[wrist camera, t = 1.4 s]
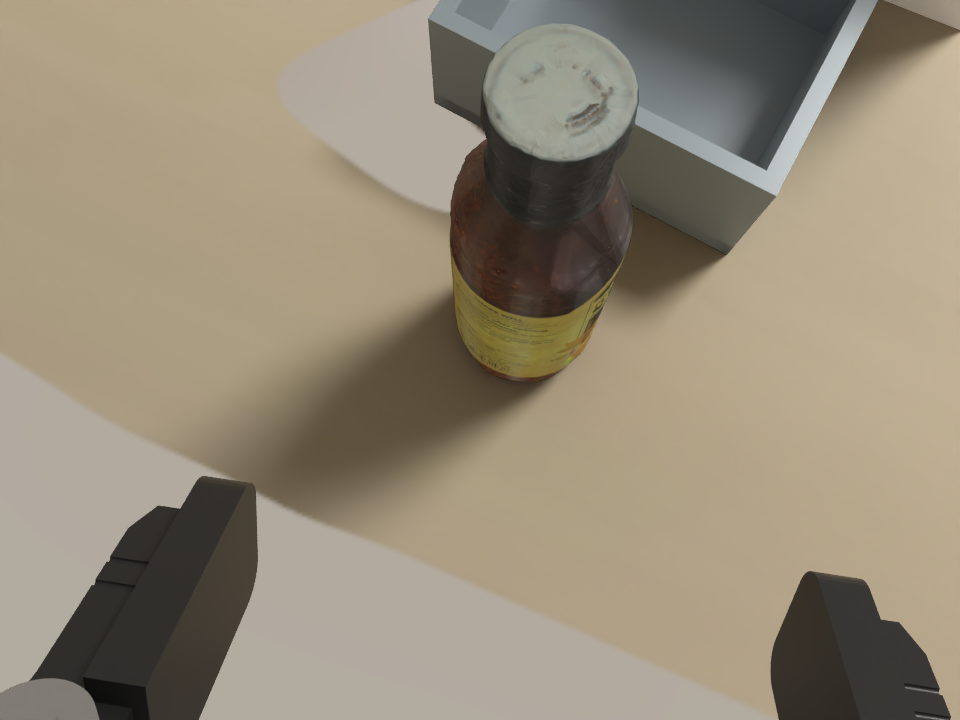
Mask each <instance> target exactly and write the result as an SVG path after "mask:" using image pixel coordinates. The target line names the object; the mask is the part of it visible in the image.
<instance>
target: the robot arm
mask: <svg viewBox="0 0 960 720" xmlns="http://www.w3.org/2000/svg"><path fill="white" fill-rule="evenodd" d="M257 553H258V549H257V516H256V491H255V487H254V485H253V484H252V483H246V482H240V481H233V480H227V479H220V478H213V477H207V476H202V477H200V478H199V479H198V480H197V482H196V483H195V485H194V486H193V488H192V490H191V492H190V493H189V495H188V497H187V498H186V500H185V502H184V504H183V505H182V507H181V509H177V508H171V507H164V506H157V507H156V508H154V509H153V510H152V511H150V512H149V513H148V514H146V515H145V516H144V517H142V518H141V519H140V520H138V521H137V522H136V523H135V524H133V525H132V526H130V527H129V528H128V530H127V531H126V532H125V534H124V536H123V537H122V539H121V540H120V542H119V544H118V545H117V547H116V548H115V550H114V551H113V553H112V554H111V556H110V561H109V562H106V564H105V565H104V567H103V569H102V570H101V572H100V573H99V575H98V576H97V578H96V582H95V585H92V586H91V587H90V589H89V590H88V592H87V594H86V595H85V597H84V598H83V600H82V601H81V603H80V605H79V606H78V608H77V609H76V611H75V612H74V614H73V616H72V617H71V619H70V620H69V622H68V623H67V625H66V626H65V628H64V630H63V631H62V633H61V634H60V636H59V638H58V639H57V641H56V642H55V644H54V645H53V647H52V648H51V650H50V651H49V653H48V655H47V656H46V658H45V659H44V661H43V663H42V664H41V666H40V667H39V669H38V670H37V672H36V673H35V674H34V676H33V677H32V678H31V679H30V681H28V682H25V683H21V684H19V685H16V686H13V687H11V688H9V689H7V690H5V691H4V692H2V693H0V720H199V717H200V715H201V713H202V710H203V708H204V706H205V703H206V701H207V699H208V696H209V694H210V691H211V689H212V687H213V685H214V682H215V680H216V678H217V675H218V673H219V671H220V668H221V666H222V664H223V661H224V659H225V656H226V654H227V652H228V649H229V647H230V645H231V642H232V640H233V638H234V636H235V633H236V631H237V628H238V626H239V624H240V621H241V619H242V617H243V614H244V612H245V610H246V607H247V605H248V603H249V600H250V597H251V594H252V591H253V587H254V583H255V578H256V572H257V562H258V554H257ZM771 684H772V689H773V694H774V699H775V704H776V708H777V713H778V718H779V720H950V718H951V716H950V713H949V711H948V708H947V706H946V703H945V701H944V698H943V696H942V695H939V689H940V688H939V686H938V683H937V681H936V678H935V676H934V673H933V671H932V668H931V666H930V663H929V661H928V658H927V656H926V654H925V653H924V652H923V650H922V649H921V648H920V647H919V646H918V645H917V643H916V642H915V641H914V640H913V639H912V637H911V636H910V635H909V634H908V633H907V631H906V630H905V629H904V628H903V627H902V625H901V624H900V623H899V622H893V621H886V620H881V619H880V616H879V613H878V611H877V608H876V605H875V602H874V600H873V597H872V594H871V591H870V589H869V587H868V585H867V583H866V582H865V581H864V580H862V579H857V578H851V577H844V576H838V575H831V574H825V573H818V572H812V571H809V572H807V573H806V574H805V575H804V576H803V577H802V579H801V581H800V584H799V586H798V588H797V591H796V593H795V595H794V598H793V600H792V602H791V605H790V607H789V609H788V612H787V614H786V617H785V619H784V621H783V624H782V626H781V628H780V631H779V633H778V635H777V638H776V640H775V643H774V647H773V651H772V657H771Z"/></svg>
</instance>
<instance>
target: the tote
mask: <svg viewBox="0 0 960 720" xmlns="http://www.w3.org/2000/svg"><path fill="white" fill-rule="evenodd" d="M877 2H878V0H440V1H439V3H438V4H437V6H436V7H435V9H434V10H433V12H432V14H431V15H430V17H429V18H428V22H429V35H430V49H431V62H432V75H433V87H434V100H435V103H436V104H438V105H440V106H442V107H444V108H446V109H448V110H449V111H451V112H453V113H455V114H457V115H459V116H461V117H463V118H465V119H467V120H469V121H471V122H473V123H474V124H476V125H478V126H480V127H482V128H483V126H482V124H481V121H480V112H481V111H480V106H481V91H482V83H483V79H484V75H485V72H486V69H487V67H488V65H489V63H490V62H491V60H492V58H493V56H494V53H495V52H496V51H498V50H499V49H500V48H501V47H502V46H503V45H504V44H505V43H506V42H507V41H508V40H510V39H511V38H512V37H514V36H516V35H517V34H519V33H521V32H523V31H525V30H527V29H529V28H533V27H537V26H541V25H546V24H552V23H556V24H573V25H576V26H579V27H582V28H586V29H588V30H591V31H593V32H595V33H597V34H599V35H601V36H603V37H605V38H607V39H609V40H610V41H611V42H612V43H613V44H614V45H615V46H616V47H617V48H618V49H619V50H620V51H621V52H622V53H623V55H624V56H625V57H626V58H627V59H628V60H629V62H630V64H631V66H632V68H633V70H634V72H635V74H636V78H637V82H638V86H639V104H638V108H637V115H636V120H635V125H634V130H633V134H632V138H631V140H630V142H629V144H628V146H627V148H626V149H625V151H624V153H623V154H622V156H620V157H619V158H618V159H617V161H616V163H615V167H616V169H617V171H618V173H619V175H620V177H621V179H622V181H623V183H624V185H625V187H626V189H627V191H628V194H629V197H630V201H631V205H632V206H634V207H636V208H638V209H640V210H642V211H644V212H646V213H648V214H649V215H651V216H653V217H655V218H657V219H659V220H661V221H663V222H665V223H667V224H669V225H671V226H673V227H674V228H676V229H678V230H680V231H682V232H684V233H686V234H688V235H690V236H692V237H694V238H696V239H698V240H699V241H701V242H703V243H705V244H707V245H709V246H711V247H713V248H715V249H717V250H719V251H721V252H723V253H724V254H726V255H727V254H728V253H729V252H730V250H731V249H732V248H733V247H734V246H735V244H736V243H737V242H738V241H739V240H740V239H741V237H742V236H743V235H744V234H745V233H746V231H747V230H748V229H749V228H750V227H751V225H752V224H753V223H754V222H755V221H756V220H757V218H758V217H759V216H760V215H761V214H762V212H763V211H764V210H765V209H766V208H767V207H768V205H769V204H770V203H771V202H772V201H773V199H774V198H775V197H776V196H777V194H778V192H779V190H780V188H781V186H782V184H783V182H784V180H785V178H786V176H787V175H788V173H789V171H790V169H791V167H792V165H793V163H794V161H795V159H796V157H797V155H798V153H799V151H800V150H801V148H802V146H803V144H804V142H805V140H806V138H807V136H808V134H809V132H810V130H811V128H812V126H813V125H814V123H815V121H816V119H817V117H818V115H819V113H820V111H821V109H822V107H823V105H824V103H825V101H826V100H827V98H828V96H829V94H830V92H831V90H832V88H833V86H834V84H835V82H836V80H837V78H838V76H839V75H840V73H841V71H842V69H843V67H844V65H845V63H846V61H847V59H848V57H849V55H850V53H851V51H852V50H853V48H854V46H855V44H856V42H857V40H858V38H859V36H860V34H861V32H862V30H863V28H864V26H865V25H866V23H867V21H868V19H869V17H870V15H871V13H872V11H873V9H874V7H875V5H876V3H877Z"/></svg>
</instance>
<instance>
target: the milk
mask: <svg viewBox="0 0 960 720" xmlns="http://www.w3.org/2000/svg"><path fill="white" fill-rule="evenodd" d="M884 1H887V2H889V3H892V4H894V5H897V6H899V7H902V8H905V9H907V10H910V11H912V12H915V13H917V14H920V15H922V16H925V17H927V18H930V19H933V20H935V21H938V22H940V23H943V24H945V25H948V26H950V27H953V28H955V29H958V30H960V0H884Z"/></svg>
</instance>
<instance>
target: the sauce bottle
mask: <svg viewBox="0 0 960 720" xmlns="http://www.w3.org/2000/svg"><path fill="white" fill-rule="evenodd" d="M638 104H639V86H638V82H637V78H636V74H635V72H634V70H633V68H632V66H631V64H630V62H629V60H628V59H627V58H626V57H625V56H624V55H623V53H622V52H621V51H620V50H619V49H618V48H617V47H616V46H615V45H614V44H613V43H612V42H611V41H610V40H609V39H607V38H605V37H603V36H601V35H599V34H597V33H595V32H593V31H591V30H588V29H586V28H582V27H579V26H576V25H573V24H556V23H552V24H546V25H541V26H537V27H533V28H529V29H527V30H525V31H523V32H521V33H519V34H517V35H516V36H514V37H512V38H511V39H510V40H508V41H507V42H506V43H505V44H504V45H503V46H502V47H501V48H500V49H499V50H498V51H496V52H495V53H494V56H493V58H492V60H491V62H490V63H489V65H488V67H487V69H486V72H485V75H484V79H483V83H482V91H481V106H480V111H481V112H480V121H481V124H482V126H483V129H484V131H485V135H486V138H487V139H486V140H484V141H483V142H482V143H480V144H479V145H478V146H477V147H476V148H475V149H473V150H472V151H471V152H470V153H469V154H468V155H467V156H466V158H465V162H464V164H463V165H462V168H461V171H460V173H459V175H458V177H457V180H456V182H455V185H454V191H453V195H452V200H451V212H450V216H451V227H450V252H451V265H452V277H453V289H454V300H455V314H456V316H457V325H458V329H459V332H460V335H461V337H462V340H463V342H464V344H465V346H466V348H467V349H468V350H469V352H470V354H471V355H472V356H473V357H474V358H475V359H476V360H477V361H478V362H479V363H480V364H481V366H482V367H484V368H485V369H486V370H487V371H488V372H490V373H492V374H493V375H495V376H497V377H502V378H504V379H509V380H515V381H522V382H529V381H540V380H542V379H546V378H549V377H552V376H553V375H554V374H556V373H558V372H559V371H560V370H562V369H563V368H564V367H565V366H567V365H568V364H569V363H571V362H572V361H573V360H574V359H575V358H576V357H577V356H578V355H580V353H581V352H582V351H583V349H584V348H585V346H586V344H587V342H588V340H589V338H590V336H591V334H592V331H593V329H594V327H595V325H596V322H597V320H598V317H599V315H600V313H601V311H602V308H603V306H604V304H605V302H606V299H607V297H608V296H609V293H610V290H611V288H612V285H613V282H614V280H615V278H616V277H617V274H618V272H619V269H620V266H621V264H622V263H623V260H624V257H625V254H626V251H627V249H628V246H629V242H630V239H631V233H632V226H633V213H632V205H631V201H630V197H629V194H628V191H627V189H626V187H625V185H624V183H623V181H622V179H621V177H620V175H619V173H618V171H617V169H616V167H615V163H616V161H617V159H618V158H619V157H620V156H622V154H623V153H624V151H625V149H626V148H627V146H628V144H629V142H630V140H631V138H632V134H633V130H634V125H635V120H636V115H637V108H638Z"/></svg>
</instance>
